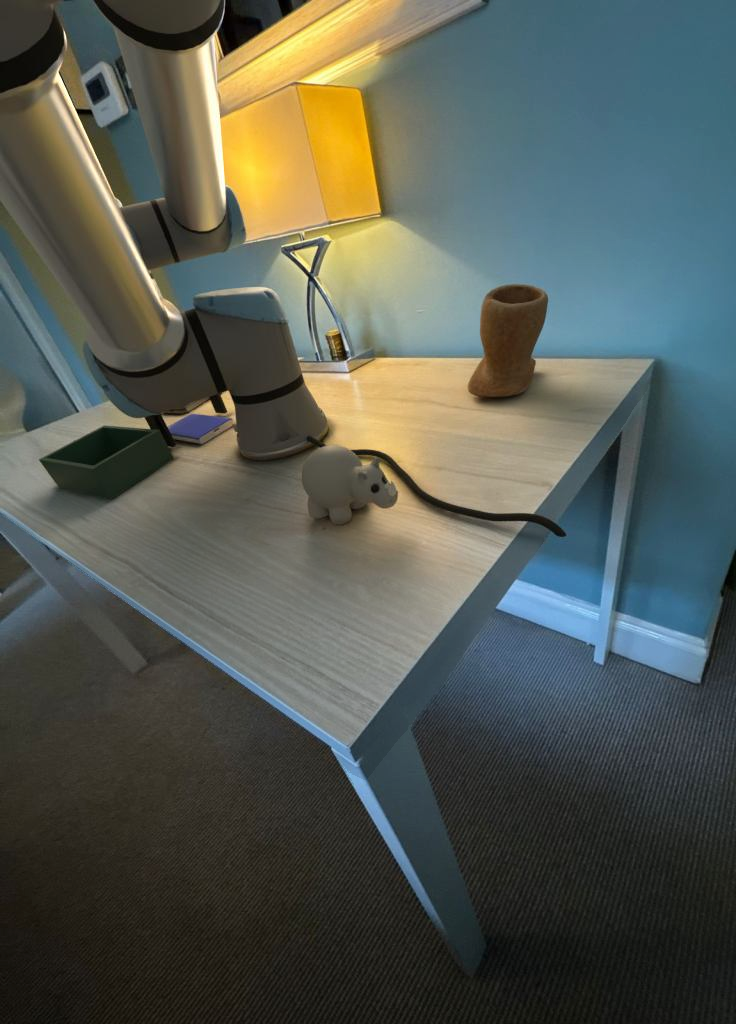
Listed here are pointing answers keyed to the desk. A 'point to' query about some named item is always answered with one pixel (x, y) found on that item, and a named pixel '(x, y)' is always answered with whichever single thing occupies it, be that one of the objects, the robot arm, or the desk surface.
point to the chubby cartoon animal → (343, 484)
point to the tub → (108, 460)
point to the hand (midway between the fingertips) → (197, 428)
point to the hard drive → (199, 428)
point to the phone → (187, 407)
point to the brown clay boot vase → (508, 339)
